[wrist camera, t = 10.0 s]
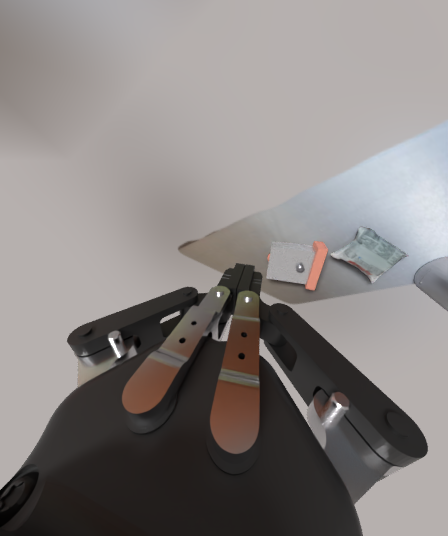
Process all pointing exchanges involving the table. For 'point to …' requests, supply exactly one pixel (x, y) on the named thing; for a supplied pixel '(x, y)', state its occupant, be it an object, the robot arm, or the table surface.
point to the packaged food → (370, 253)
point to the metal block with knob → (290, 262)
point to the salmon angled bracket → (316, 264)
